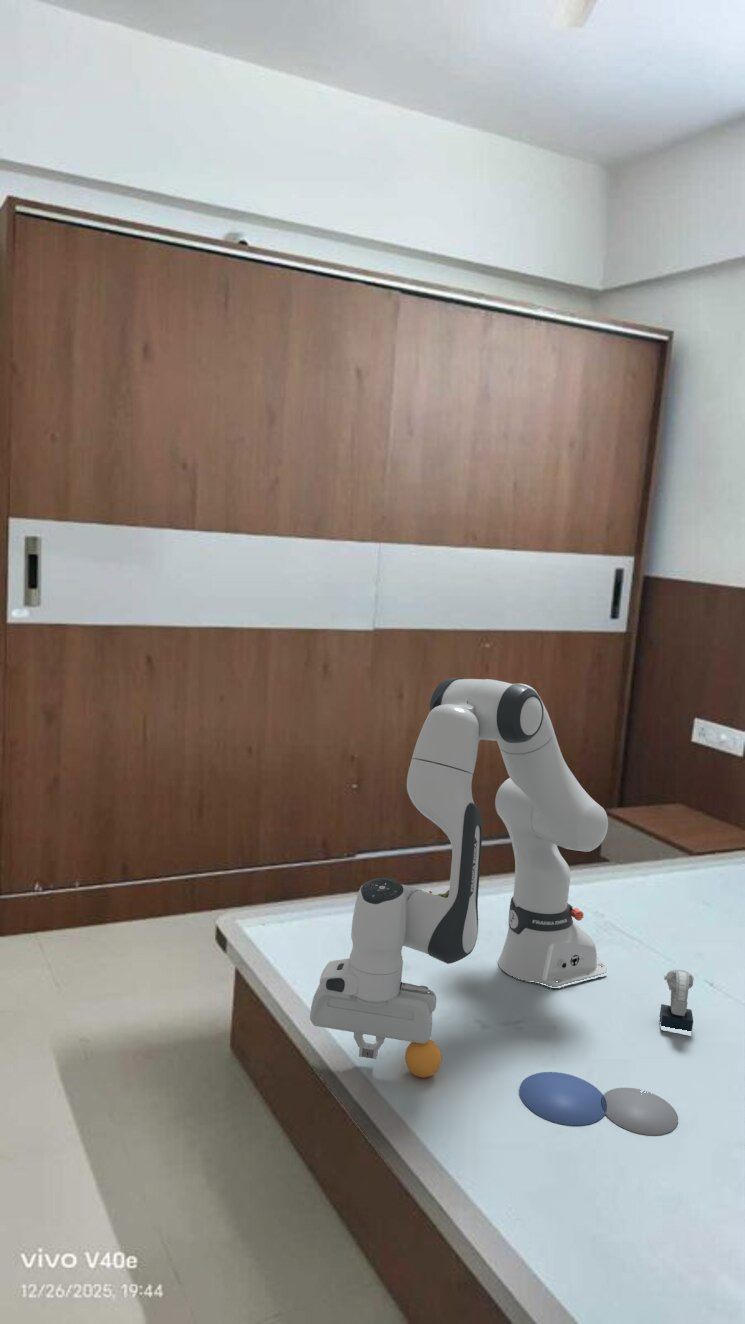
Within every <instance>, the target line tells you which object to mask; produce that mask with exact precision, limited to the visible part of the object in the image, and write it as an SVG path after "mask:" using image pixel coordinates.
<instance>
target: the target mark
mask: <svg viewBox="0 0 745 1324" xmlns="http://www.w3.org/2000/svg"><path fill="white" fill-rule="evenodd" d="M518 1091H519V1097H520V1099H521V1101H522V1103H523V1104H524V1106H525V1107H526V1108H527V1109H529V1111H531V1112H532V1113H534V1114H535V1115H537V1116H539V1117H540V1118H543V1119H545V1120H547V1121H549V1122H551V1123H555V1124H559V1125H565V1126H573V1127H575V1126H576V1127H578V1126H579V1127H580V1126H588V1125H592V1124H595V1123H597V1122H599V1121H601V1119H603V1118H604V1117H605V1116H606V1115H605V1112H606V1110H605V1109H607V1108H606V1107H605V1106H607V1104H605V1105H601V1098H602V1096H603V1095H604V1094H603V1093H602V1091H600V1089H598V1088H597V1087H596V1086H594V1085H593V1084H592V1083H591V1082H589V1081H587V1080H585V1079H583V1078H580V1077H578V1076H575V1075H573V1074H569V1073H564V1072H557V1071H556V1072H555V1071H545V1072H537V1073H534V1074H531V1075H528V1076H527V1077H526V1078H524V1079H523V1080H522V1082H521V1083H520V1085H519V1089H518ZM603 1100H605V1098H603ZM603 1102H604V1101H603ZM604 1103H607V1102H606V1101H605V1102H604ZM602 1104H603V1103H602ZM602 1107H603V1108H604V1110H605V1112H604V1111H603V1109H602Z"/></svg>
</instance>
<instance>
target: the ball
mask: <svg viewBox="0 0 745 1324" xmlns="http://www.w3.org/2000/svg"><path fill="white" fill-rule="evenodd" d="M404 1061H405V1065H406V1067H407V1069H408V1070H409V1072H410V1073H411V1074H413V1075H414V1076H416V1077H419V1078H429V1077H431V1076H433V1075H434V1074H436V1073H437V1071H438V1070H439V1069H440V1067H441V1064H442V1052H441V1050H440V1047H439V1046H438V1044H437V1043H436V1042H434V1041H433V1040H432V1039H430V1040H429V1041H427V1042H426V1043H425V1044H421V1043H415V1042H410V1043H409V1044H408V1046H407V1048H406V1050H405V1054H404Z"/></svg>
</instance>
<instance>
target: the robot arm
mask: <svg viewBox="0 0 745 1324" xmlns="http://www.w3.org/2000/svg"><path fill="white" fill-rule="evenodd" d="M482 740H483V741H484V740H485V741H494V742H495V741H496V742H497V744H498V745H497V746H498V748H499V751H500V754H501V757H502V760H503V764H504V766H505V769H506V772H507V775H508V776H509V778H507V779H506V780H504V782H502V783H501V784H500V786H499V788H498V790H497V792H496V795H495V800H494V802H495V803H494V804H495V811H496V813H497V815H498V817H500V819H501V821H502V823H503V824H504V826H505V828H506V830H507V832H508V835H509V838H510V842H511V846H512V851H513V855H514V862H515V864H514V865H515V868H514V870H515V871H514V883H513V884H514V885H513V893H512V897H511V898H510V902H509V911H508V929H507V934H506V938H505V942H504V945H503V947H502V951H501V953H500V955H499V958H498V961H497V962H498V963H497V964H498V966H499V968H500V969H501V970H502V971H503V972H504V973H506V974H507V975H509V976H511V977H512V976H513V978H515V977H516V978H515V979H517V978H519V979H518V980H520V979H521V980H520V981H523V980H526V981H525V982H527V981H534V982H539V983H543V984H546V985H548V986H552V987H558V986H562V985H564V984H568V983H572V982H575V981H580V980H584V979H587V978H591V977H595V976H598V975H601V974H604V973H606V972H607V967H606V965H605V964H604V962H603V961H602V959H600V958H599V957H597V955H598V954H597V946H596V944H595V942H594V941H595V940H593V939H592V937H591V936H590V935H589V934H588V933H587V932H586V931H585V930H583V929H582V927H580V926H579V925H578V924H576V923H575V922H574V920H573V919H575V920H577V921H579V922H580V921H582V920H583V918H584V916H585V914H584V912H583V911H582V910H580V909H579V908H576V907H575V908H573V906H572V905H571V904H570V903H569V893H570V884H571V875H572V874H571V869H570V867H569V864H568V863H567V861H566V860H565V858H564V857H563V856H562V854H561V852H560V850H559V848H558V846H559V847H561V848H564V849H565V850H566V849H567V850H572V851H579V852H585V853H587V852H591V851H594V850H595V849H597V848H598V847H599V846H600V845H601V844H602V843H603V842H604V840H605V838H606V836H607V834H608V829H609V818H608V813H607V811H606V810H605V809H604V807H603V806H601V805H600V804H599V803H597V801H595V799H593V797H591V796H590V795H589V793H588V792H586V790H585V789H584V788H583V787H582V785H581V784H580V783H579V781H578V780H577V778H576V777H575V775H574V774H573V772H572V770H570V768H569V767H568V765H567V763H566V760H565V759H564V757H563V754H562V752H561V748H560V745H559V742H558V738H557V736H556V733H555V730H554V726H553V723H552V720H551V718H550V715H549V712H548V710H547V708H546V707H545V703H544V702H543V701H542V699H541V697H540V695H539V694H538V691H536V689H534V687H532V686H530V685H528V684H525V683H510V682H506V681H502V680H497V679H490V678H486V679H482V678H481V679H479V678H464V677H451V678H447V679H443V680H442V681H440V682H439V684H438V685H437V686H436V687H435V689H434V690H433V692H432V694H431V696H430V700H429V712H428V715H427V717H426V719H425V721H424V723H423V725H422V727H421V730H420V732H419V735H418V737H417V740H416V744H415V745H414V749H413V753H412V757H411V760H410V765H409V767H408V772H407V777H406V791H407V794H408V797H409V799H410V802H411V803H412V804H413V806H414V807H415V808H416V809H417V810H418V812H420V813H421V814H422V815H423V816H424V817H425V818H427V819H428V820H430V821H431V822H432V823H434V824H435V825H436V826H438V828H440V829H441V830H442V832H443V833H444V834H445V836H447V838H448V840H449V842H450V845H451V851H452V853H451V854H452V855H451V866H450V877H449V878H450V879H449V888H448V890H449V896H448V897H447V898H444V897H441V896H438V895H437V894H434V893H430V892H427V891H424V890H422V889H419V888H417V887H412V886H410V885H406V884H402V883H400V882H399V881H397V880H396V879H392V878H387V877H381V878H379V877H377V878H373V879H370V880H367V881H366V882H364V883H363V884H362V885H361V886H360V887H359V890H358V893H357V896H356V900H355V903H354V907H353V908H354V909H353V915H352V920H351V921H352V923H351V934H350V935H351V941H352V948H351V951H350V954H349V957H348V958H343V959H337V960H332V961H331V960H330V961H329V962H328V963H327V964H326V966H325V967H324V968H323V970H322V973H321V974H320V978H319V984H318V986H317V988H316V990H315V993H314V995H313V998H312V1002H311V1007H310V1012H309V1021H310V1022H311V1023H312V1025H313V1026H314V1027H321V1028H326V1029H332V1030H338V1031H343V1032H349V1033H350V1032H351V1033H353V1038H354V1039H353V1040H354V1041H355V1043H356V1045H357V1047H358V1048H359V1049H358V1057H361V1058H366V1059H367V1058H368V1059H373V1060H377V1057H378V1053H379V1052H378V1051H379V1049H380V1048H381V1047H382V1046H383V1044H384V1043H385V1040H386V1039H392V1040H398V1041H403V1042H409V1043H411V1042H415V1043H421V1044H425V1043H426V1042H427V1041H429V1040H431V1038H432V1032H433V1012H435V1010H436V1007H437V995H436V993H435V992H434V991H433V990H431V989H429V987H427V986H426V985H418V984H417V985H416V984H413V983H407V982H402V976H403V965H404V960H403V954H402V950H403V946H404V947H406V948H409V949H412V950H414V951H418V952H421V953H423V954H427V955H428V956H429V957H431V958H434V959H436V960H439V961H441V962H442V963H444V964H447V965H449V964H453V963H457V962H459V961H461V960H463V959H465V958H466V957H468V956H469V955H470V954H471V953H472V952H473V950H474V949H475V946H476V944H477V941H478V933H479V913H478V912H479V910H478V909H479V908H478V906H479V905H478V903H479V902H478V901H479V889H480V888H479V886H480V872H481V859H482V844H483V817H482V812H481V809H480V807H478V806H477V805H476V804H475V802H474V798H473V793H472V792H473V791H472V783H473V782H472V781H473V775H474V772H475V767H476V762H477V757H478V750H479V742H481V741H482ZM599 966H601V967H599ZM556 981H558V982H556ZM364 1035H368V1036H374V1037H375V1043H370V1042H366V1040H365V1039H364Z"/></svg>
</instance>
